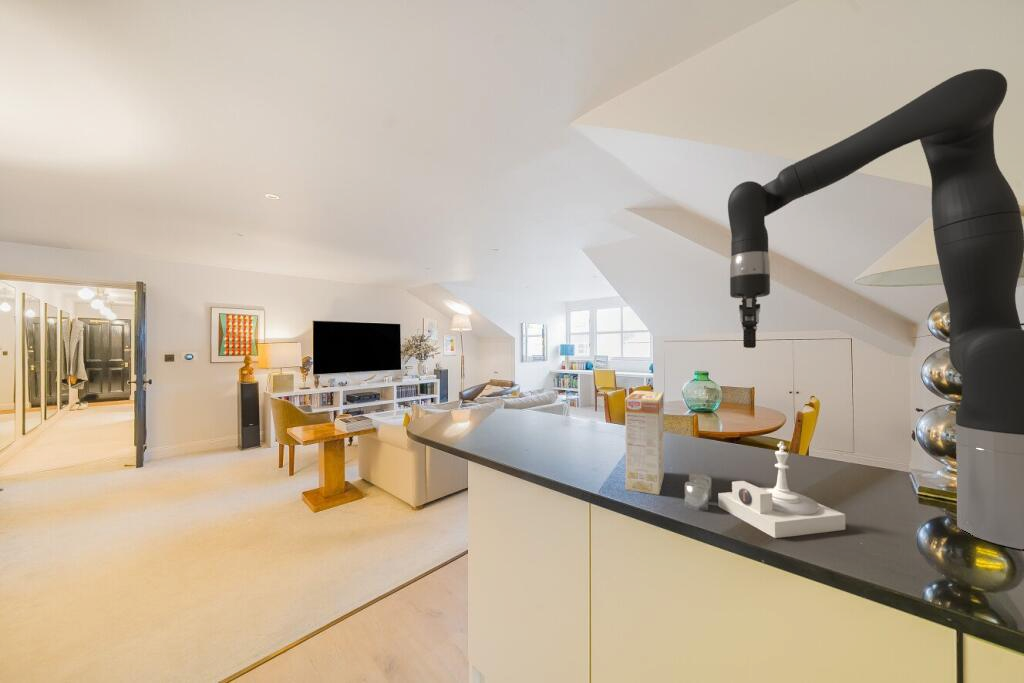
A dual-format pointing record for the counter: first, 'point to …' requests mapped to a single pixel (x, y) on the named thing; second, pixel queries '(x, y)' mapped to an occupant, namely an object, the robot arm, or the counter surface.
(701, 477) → the spacer
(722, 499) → the scale
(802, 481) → the counter surface
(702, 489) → the spacer
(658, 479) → the coffeecake box
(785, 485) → the chess piece
